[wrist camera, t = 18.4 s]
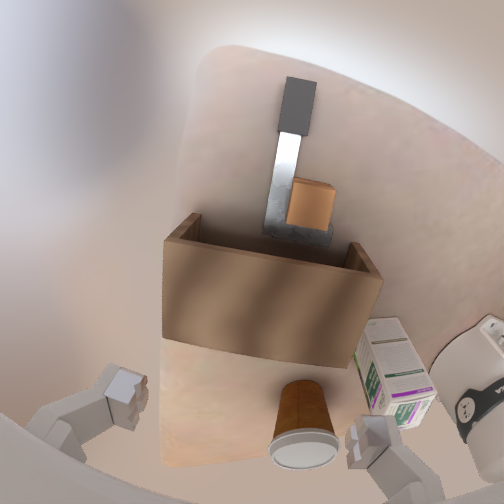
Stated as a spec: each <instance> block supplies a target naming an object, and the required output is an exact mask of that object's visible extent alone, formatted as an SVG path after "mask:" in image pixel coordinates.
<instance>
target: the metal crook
mask: <svg viewBox="0 0 504 504" xmlns="http://www.w3.org/2000/svg"><path fill="white" fill-rule="evenodd" d="M316 85H317V82H313V81H308V80H303V79H298V78H293V77H287V79H286V85H285V91H284V96H283V102H282V108H281V114H280V119H279V125H278V132H280V137H279V143H278V148H277V154H276V160H275V165H274V171H273V176H272V182H271V188H270V193H269V199H268V204H267V210H266V215H265V221H264V226H263V233H262V234H267V235H272V237H274V238H280V239H285V240H290V241H296V242H301V243H307V244H312V245H317V246H322V247H328V248H329V246H330V242H331V238H332V234H333V230H334V229H333V228H332V226H331V224H330V223H329V225H328V229H327V231H323V230H318V229H313V228H308V227H302V226H297V225H292V224H286V213H287V208H288V203H289V198H290V193H291V187H292V182H293V177H294V172H295V167H296V161H297V156H298V151H299V145H300V140H301V136H308V130H309V125H310V119H311V114H312V108H313V102H314V97H315V91H316Z"/></svg>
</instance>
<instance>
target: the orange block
mask: <svg viewBox="0 0 504 504" xmlns="http://www.w3.org/2000/svg"><path fill="white" fill-rule="evenodd" d="M335 194H336V190H335V189H334V188H333V187H332V186H331V185H330V184H326V183H321V182H316V181H311V180H306V179H301V178H296V177H293V182H292V187H291V193H290V198H289V203H288V208H287V213H286V224H292V225H297V226H302V227H308V228H313V229H318V230H323V231H327V229H328V225H329V220H330V216H331V212H332V208H333V203H334V199H335Z"/></svg>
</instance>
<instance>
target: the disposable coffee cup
mask: <svg viewBox="0 0 504 504" xmlns="http://www.w3.org/2000/svg"><path fill="white" fill-rule="evenodd" d="M339 449H340V441H339V439H338V438H337V437H336V435H335V433H334V430H333V426H332V423H331V420H330V415H329V412H328V409H327V405H326V402H325V399H324V395H323V392H322V388H321V387H320V385H319V384H317V383H315V382H313V381H308V380H300V381H295V382H292V383H290V384H288V385H287V386H285V388H284V389H283V391H282V394H281V400H280V405H279V410H278V415H277V421H276V425H275V431H274V435H273V440H272V442H271V443H270V445H269V447H268V453H269V455H270V456H271V459H272V462H273V463H274V464H275V465H277V466H279V467H281V468H284V469H290V470H311V469H315V468H319V467H322V466H325V465H327V464H329V463H331V462H332V461H333V460H334V459H335V458H336V457H337V454H338V450H339Z"/></svg>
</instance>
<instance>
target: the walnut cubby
mask: <svg viewBox="0 0 504 504" xmlns="http://www.w3.org/2000/svg"><path fill="white" fill-rule="evenodd" d="M200 219H201V214H196V213H192V214H191V215H190V216H189V217H188V218H187V219H185V220H184V221H183V222H182V223H181V224H180V225H179V226H178V227H177V228H176V229H175V230H174V231H173V232H172V233H171V234H170V235H169V236H168V237H167V238H166V239H165V240H164V250H163V282H162V337H163V338H166V339H170V340H174V341H178V342H182V343H187V344H191V345H196V346H200V347H205V348H210V349H215V350H220V351H225V352H230V353H235V354H241V355H247V356H252V357H258V358H265V359H271V360H278V361H285V362H292V363H300V364H308V365H316V366H325V367H335V368H346V369H347V366H348V364H349V362H350V360H351V358H352V356H353V354H354V352H355V349H356V347H357V345H358V343H359V341H360V338H361V336H362V334H363V331H364V329H365V327H366V324H367V322H368V320H369V317H370V315H371V312H372V310H373V307H374V305H375V302H376V300H377V297H378V294H379V292H380V289H381V286H382V284H383V281H384V279H383V278H382V276H381V275H380V273H379V272H378V270H377V269H376V267H375V266H374V264H373V263H372V261H371V260H370V258H369V257H368V255H367V254H366V252H365V251H364V249H363V248H362V246H361V245H360V244H359V243H354V242H351V245H350V249H349V252H348V255H347V259H346V262H345V266H344V268H339V267H334V266H328V265H323V264H317V263H311V262H306V261H300V260H295V259H289V258H284V257H278V256H272V255H267V254H261V253H256V252H250V251H245V250H239V249H234V248H228V247H222V246H217V245H211V244H206V243H200V242H198V238H199V228H200Z"/></svg>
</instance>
